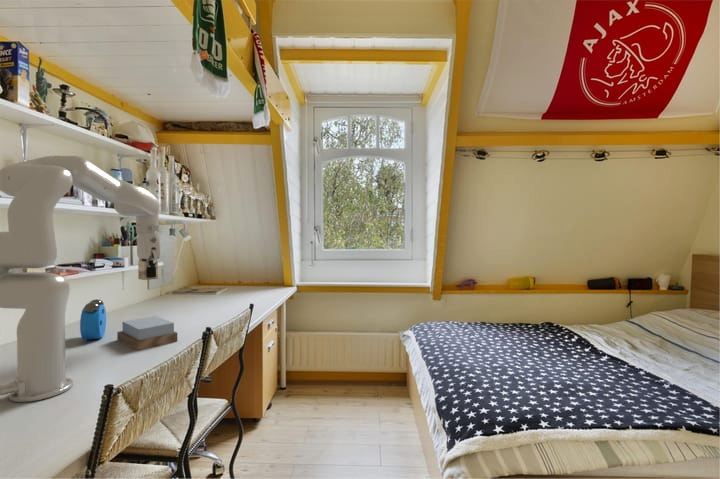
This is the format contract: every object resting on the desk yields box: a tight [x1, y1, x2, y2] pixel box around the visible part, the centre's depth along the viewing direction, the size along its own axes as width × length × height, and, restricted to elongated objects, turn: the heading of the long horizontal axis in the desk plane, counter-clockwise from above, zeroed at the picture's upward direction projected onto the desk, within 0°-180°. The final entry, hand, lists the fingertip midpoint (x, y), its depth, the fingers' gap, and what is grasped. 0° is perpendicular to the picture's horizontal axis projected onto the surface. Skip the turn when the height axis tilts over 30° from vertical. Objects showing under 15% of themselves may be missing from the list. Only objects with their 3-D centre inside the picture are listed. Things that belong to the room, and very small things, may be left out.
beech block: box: [137, 260, 159, 281], centre depth 138 cm, size 5×5×7 cm
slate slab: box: [122, 315, 175, 340], centre depth 138 cm, size 12×17×4 cm
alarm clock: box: [79, 298, 107, 342], centre depth 140 cm, size 13×6×15 cm, turn 25°
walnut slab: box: [116, 330, 178, 352], centre depth 138 cm, size 14×19×4 cm
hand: (148, 276), depth 138 cm, fingers closed on beech block, 5 cm apart
